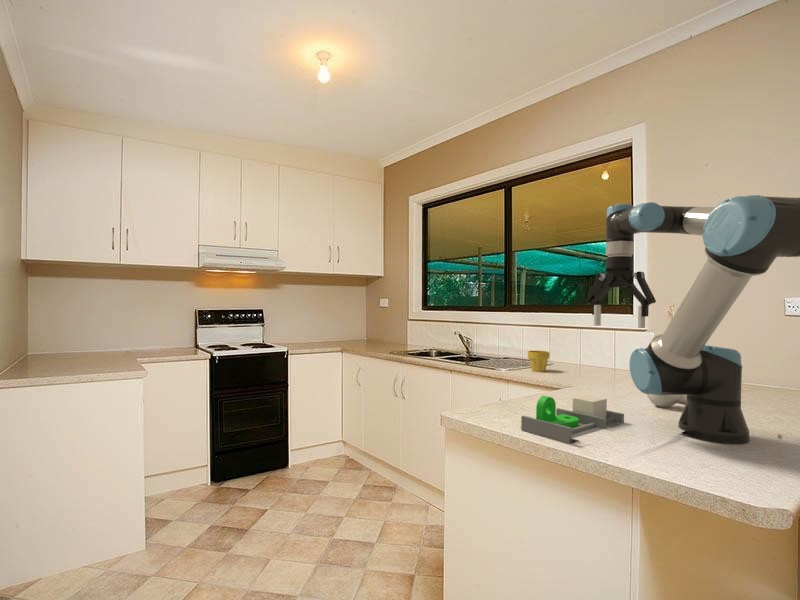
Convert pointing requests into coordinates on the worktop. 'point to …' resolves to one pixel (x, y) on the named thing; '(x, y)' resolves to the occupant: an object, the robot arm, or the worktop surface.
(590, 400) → the block
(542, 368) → the plant pot
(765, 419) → the worktop surface
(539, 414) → the mechanical part
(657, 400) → the potion bottle
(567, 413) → the grey rail frame
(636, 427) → the worktop surface
